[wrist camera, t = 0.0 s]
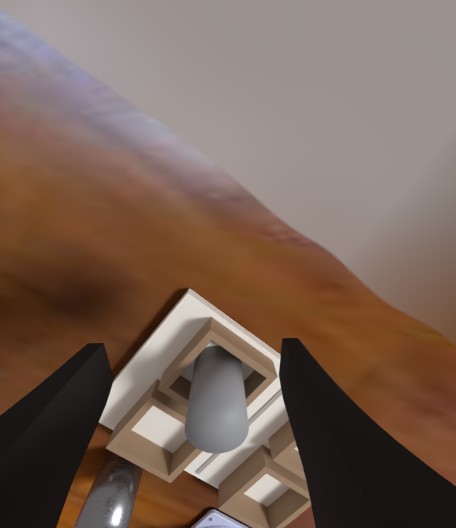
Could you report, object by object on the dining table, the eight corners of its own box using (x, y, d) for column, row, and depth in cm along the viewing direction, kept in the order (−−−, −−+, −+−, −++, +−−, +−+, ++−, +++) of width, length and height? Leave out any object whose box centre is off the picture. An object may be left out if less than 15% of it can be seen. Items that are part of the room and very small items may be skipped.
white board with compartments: (281, 514, 28) (300, 614, 22) (91, 406, 24) (40, 491, 17) (383, 429, 26) (441, 515, 19) (189, 288, 21) (174, 334, 14)
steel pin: (131, 478, 27) (106, 559, 21) (97, 461, 26) (62, 539, 20) (154, 455, 26) (134, 531, 20) (119, 436, 25) (89, 510, 19)
